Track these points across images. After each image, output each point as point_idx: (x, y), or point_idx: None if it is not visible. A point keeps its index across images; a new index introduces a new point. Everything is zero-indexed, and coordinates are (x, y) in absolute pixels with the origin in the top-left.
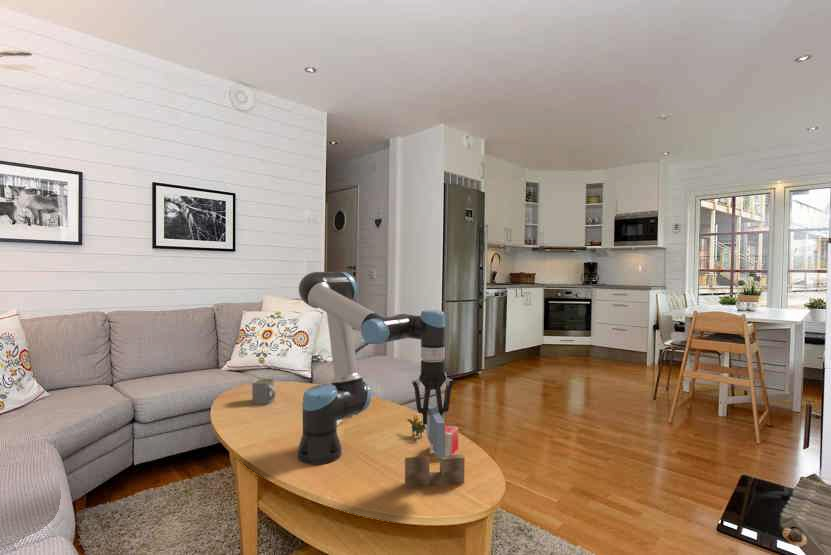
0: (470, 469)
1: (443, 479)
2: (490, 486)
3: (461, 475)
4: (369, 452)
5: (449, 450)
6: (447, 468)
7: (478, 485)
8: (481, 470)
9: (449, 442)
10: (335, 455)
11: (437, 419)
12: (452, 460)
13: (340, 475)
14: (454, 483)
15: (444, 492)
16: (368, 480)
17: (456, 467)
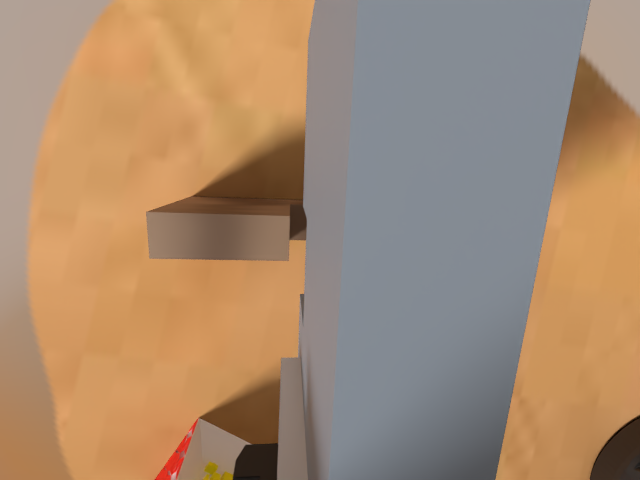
0: (137, 310)
1: (281, 201)
2: (78, 155)
3: (194, 200)
4: (496, 476)
5: (196, 445)
6: (259, 207)
7: (132, 172)
8: (89, 295)
9: (186, 478)
10: (637, 443)
11: (516, 44)
12: (225, 213)
13: (628, 326)
14: (234, 198)
15: (291, 141)
16: (547, 278)
17: (210, 206)
